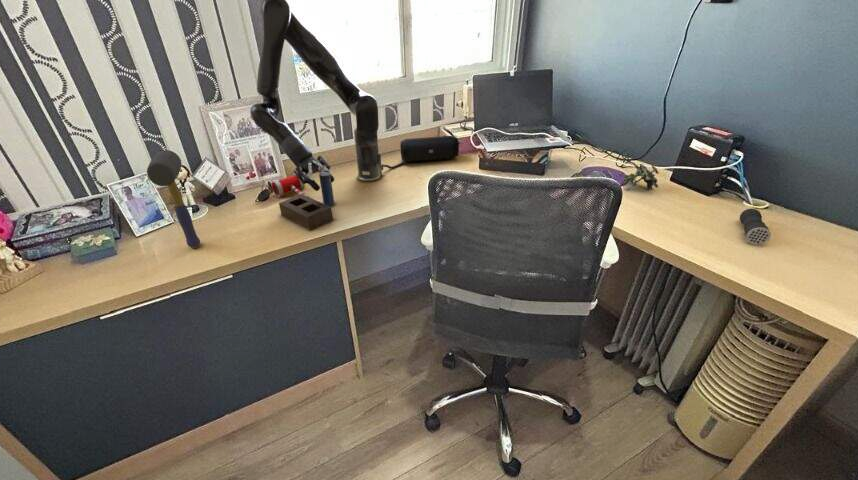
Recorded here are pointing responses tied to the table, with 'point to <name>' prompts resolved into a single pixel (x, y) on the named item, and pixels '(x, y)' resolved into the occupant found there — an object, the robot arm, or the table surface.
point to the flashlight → (754, 227)
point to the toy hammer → (287, 185)
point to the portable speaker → (429, 148)
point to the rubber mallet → (173, 190)
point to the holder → (306, 211)
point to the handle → (326, 188)
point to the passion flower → (645, 175)
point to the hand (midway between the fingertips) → (325, 185)
